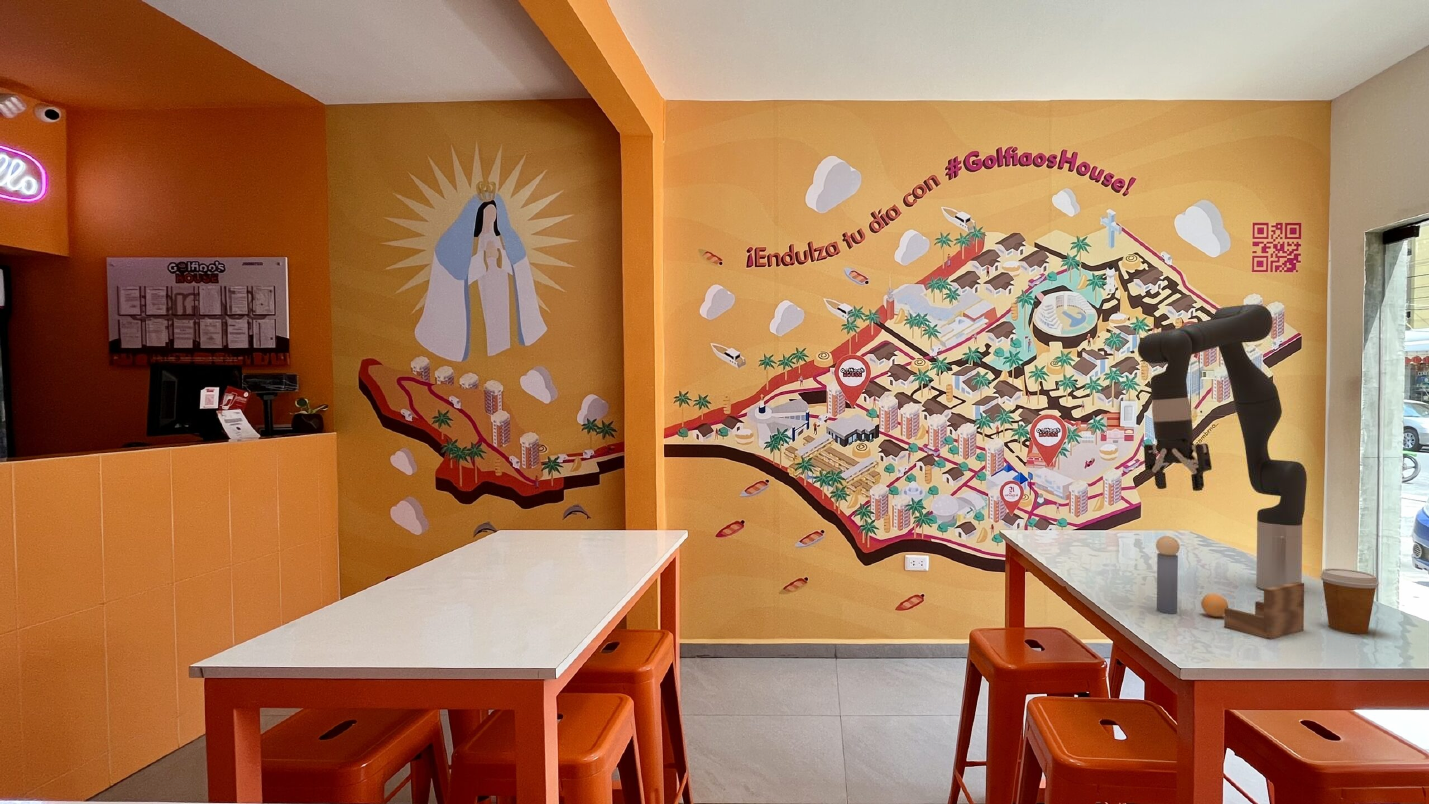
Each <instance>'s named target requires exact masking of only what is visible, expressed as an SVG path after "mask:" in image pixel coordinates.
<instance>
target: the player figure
mask: <svg viewBox="0 0 1429 804" xmlns="http://www.w3.org/2000/svg"><path fill="white" fill-rule="evenodd" d="M1155 549H1156V550H1157V552H1158V553H1157V554H1156V558H1157V559H1156V560H1157V561H1156V564H1157V565H1156V611H1157V612H1158V611H1159V613H1161V612H1162V614H1166V613H1168V614H1167V615H1177V614H1178V587H1179V586H1178V583H1179V579H1178V577H1179V576H1178V574H1179V573H1178V572H1179V560H1178V559H1179V555H1177V554H1178V553H1179V551H1180V543H1179V541H1178V540H1177V539H1176V538H1175V537H1173V536H1170V535H1164V536H1160V537H1159V538H1158V539H1157V540H1156V543H1155ZM1176 613H1177V614H1176Z"/></svg>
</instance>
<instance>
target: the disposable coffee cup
mask: <svg viewBox="0 0 1429 804" xmlns="http://www.w3.org/2000/svg"><path fill="white" fill-rule="evenodd" d="M1319 577H1320V579H1321V581H1322V584H1323V585H1322V587H1323V595H1324V601H1325V608H1326V617H1327V623H1328V627H1329V628H1330V629H1333V630H1335V631H1338V632H1343V633H1347V632H1350V633H1349V634H1354V633H1356V635H1365V634H1368V633H1369V627H1370V622H1371V616H1372V611H1373V606H1374V599H1375V596H1376V591H1377V588H1378V586H1379V584H1380V582H1379V581H1378V579H1377V576H1376V575H1375V574H1373V573H1369V572H1365V571H1359V570H1355V569H1354V570H1353V569H1347V568H1346V569H1345V568H1335V567H1334V568H1332V567H1330V568H1323V569H1322V570H1321V574H1319Z"/></svg>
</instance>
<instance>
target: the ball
mask: <svg viewBox="0 0 1429 804" xmlns="http://www.w3.org/2000/svg"><path fill="white" fill-rule="evenodd" d="M1200 602H1201V603H1200V604H1201V608H1202V610H1203V612H1205V613H1206V615H1208V616H1211V617H1214V618H1217V617H1222V616H1224V613H1225V608H1229V603H1228V601H1227V600H1226V599H1225V597H1224V596H1222V595H1220V594H1217V593H1209V594H1206V595H1204V597H1202V599H1201V601H1200Z"/></svg>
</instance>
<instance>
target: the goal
mask: <svg viewBox="0 0 1429 804" xmlns="http://www.w3.org/2000/svg"><path fill="white" fill-rule="evenodd" d="M1304 613H1305V582H1294V583H1289V584H1284V585H1280V586H1275V587H1270V588H1265V589H1263V601H1261V600H1258V601H1255V602H1254V613H1251V612H1246V611H1242V610H1238V609H1234V608H1229V607H1228V608H1225V613H1224V615H1223V616H1224V617H1223V619H1224V620H1223V621H1224V625H1223V626H1224V627H1223V628H1226V629H1230V630H1233V631H1237V632H1241V633H1244V634H1248V635H1251V636H1256V637H1260V638H1263V639H1268V640H1272V639H1276V638H1280V637H1283V636H1288V635H1291V634H1294V633H1299V632H1303V631H1304V629H1305V628H1304V622H1305V619H1304V618H1305V614H1304Z"/></svg>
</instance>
